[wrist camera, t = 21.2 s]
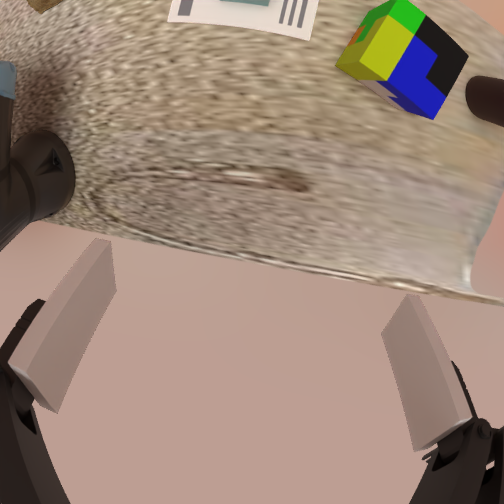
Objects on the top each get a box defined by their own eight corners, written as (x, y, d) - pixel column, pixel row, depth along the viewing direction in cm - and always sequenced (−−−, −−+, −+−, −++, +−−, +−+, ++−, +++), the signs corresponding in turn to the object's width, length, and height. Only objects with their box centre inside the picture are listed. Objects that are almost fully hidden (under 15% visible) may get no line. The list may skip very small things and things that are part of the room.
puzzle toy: (395, 108, 32) (433, 120, 23) (334, 65, 30) (358, 61, 21) (426, 56, 27) (468, 56, 18) (368, 11, 25) (400, -6, 16)
